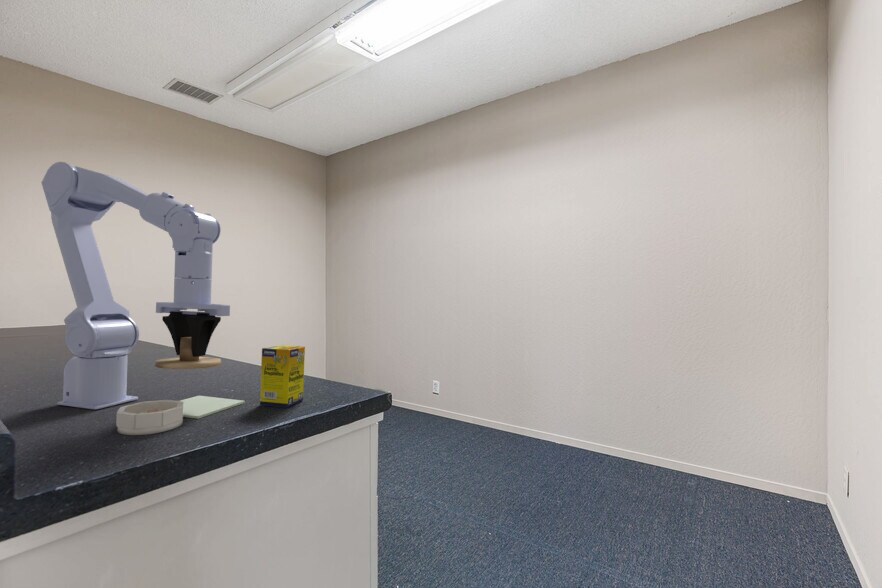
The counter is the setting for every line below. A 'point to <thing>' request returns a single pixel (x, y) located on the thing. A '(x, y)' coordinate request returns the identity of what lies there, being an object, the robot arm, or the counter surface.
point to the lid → (187, 359)
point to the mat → (206, 406)
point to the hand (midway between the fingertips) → (190, 355)
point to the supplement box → (282, 375)
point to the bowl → (149, 417)
